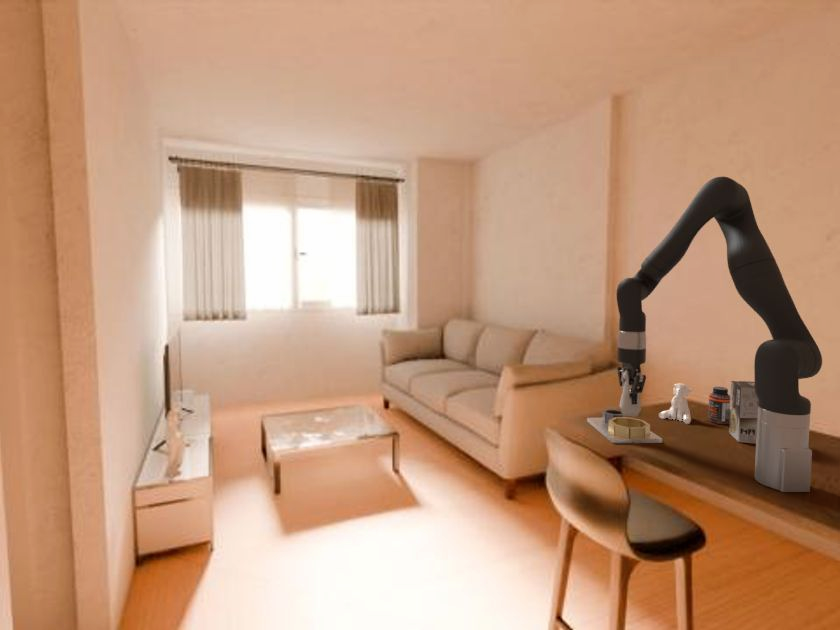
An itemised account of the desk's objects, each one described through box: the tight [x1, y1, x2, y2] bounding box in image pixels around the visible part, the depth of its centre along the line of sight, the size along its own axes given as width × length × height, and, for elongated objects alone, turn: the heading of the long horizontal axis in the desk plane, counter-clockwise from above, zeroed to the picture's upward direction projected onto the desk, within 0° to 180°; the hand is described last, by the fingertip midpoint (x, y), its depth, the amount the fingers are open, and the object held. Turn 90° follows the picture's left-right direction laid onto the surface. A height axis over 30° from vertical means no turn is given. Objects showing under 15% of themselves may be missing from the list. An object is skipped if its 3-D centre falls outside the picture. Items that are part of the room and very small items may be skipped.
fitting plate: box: [586, 408, 663, 444], centre depth 140 cm, size 20×14×4 cm
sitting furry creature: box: [658, 382, 693, 425], centre depth 151 cm, size 10×9×12 cm
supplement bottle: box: [707, 386, 730, 425], centre depth 147 cm, size 6×6×11 cm
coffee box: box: [728, 380, 758, 445], centre depth 132 cm, size 9×6×16 cm
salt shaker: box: [618, 371, 642, 417], centre depth 134 cm, size 6×6×13 cm
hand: (629, 403), depth 135 cm, fingers closed on salt shaker, 3 cm apart
